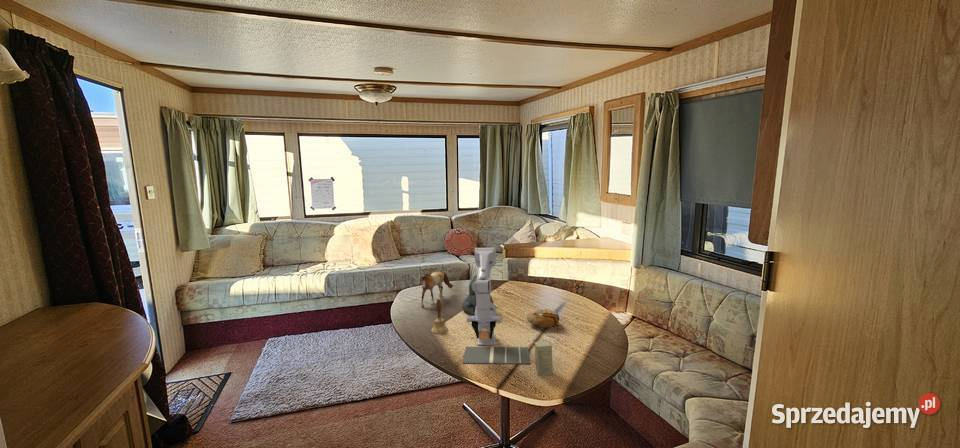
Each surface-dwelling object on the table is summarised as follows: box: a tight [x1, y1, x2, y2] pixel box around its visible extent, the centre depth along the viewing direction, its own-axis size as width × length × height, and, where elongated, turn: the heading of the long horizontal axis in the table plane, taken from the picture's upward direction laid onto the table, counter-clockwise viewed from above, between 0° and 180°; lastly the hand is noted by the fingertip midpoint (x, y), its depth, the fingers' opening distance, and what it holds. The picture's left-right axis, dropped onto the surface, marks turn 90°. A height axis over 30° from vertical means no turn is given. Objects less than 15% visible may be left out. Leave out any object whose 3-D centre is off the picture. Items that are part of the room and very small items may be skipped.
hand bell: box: [431, 298, 449, 335], centre depth 193 cm, size 8×8×16 cm
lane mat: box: [461, 346, 531, 365], centre depth 168 cm, size 14×28×1 cm, turn 86°
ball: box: [478, 329, 490, 341], centre depth 166 cm, size 5×5×5 cm
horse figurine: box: [420, 271, 455, 308], centre depth 233 cm, size 31×8×21 cm, turn 152°
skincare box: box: [534, 340, 554, 376], centre depth 153 cm, size 6×4×12 cm
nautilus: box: [526, 308, 566, 332], centre depth 193 cm, size 8×22×15 cm
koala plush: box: [461, 273, 494, 315], centre depth 217 cm, size 17×18×20 cm
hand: (484, 337), depth 166 cm, fingers closed on ball, 5 cm apart
